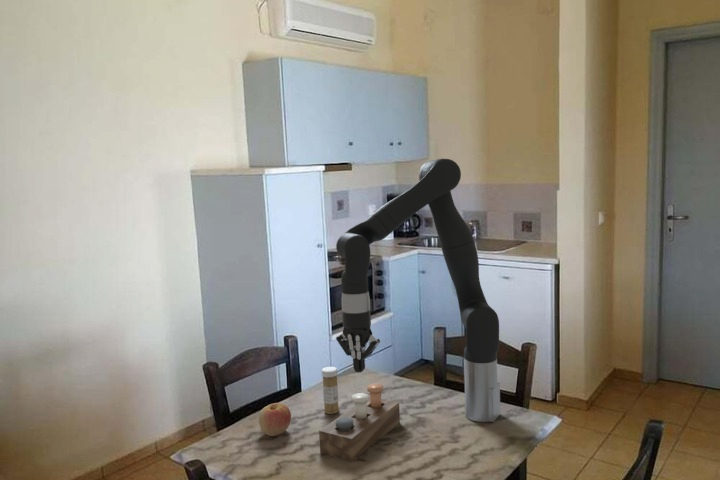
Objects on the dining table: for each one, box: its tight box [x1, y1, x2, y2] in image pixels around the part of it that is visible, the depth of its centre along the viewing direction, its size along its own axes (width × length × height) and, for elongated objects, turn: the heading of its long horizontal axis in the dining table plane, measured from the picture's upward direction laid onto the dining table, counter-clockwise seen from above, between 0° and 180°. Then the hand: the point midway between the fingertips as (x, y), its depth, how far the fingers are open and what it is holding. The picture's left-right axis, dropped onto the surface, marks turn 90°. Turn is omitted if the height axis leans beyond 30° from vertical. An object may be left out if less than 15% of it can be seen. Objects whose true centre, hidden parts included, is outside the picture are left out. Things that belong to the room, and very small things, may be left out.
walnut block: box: [318, 395, 401, 462], centre depth 162 cm, size 10×25×6 cm, turn 148°
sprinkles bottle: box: [321, 366, 340, 415], centre depth 179 cm, size 5×5×13 cm
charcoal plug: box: [336, 418, 353, 432], centre depth 155 cm, size 5×5×7 cm
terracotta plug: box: [366, 382, 384, 409], centre depth 168 cm, size 5×5×7 cm
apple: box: [258, 402, 292, 437], centre depth 166 cm, size 9×9×8 cm
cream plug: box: [351, 392, 370, 420], centre depth 161 cm, size 5×5×7 cm
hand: (359, 371), depth 159 cm, fingers closed
